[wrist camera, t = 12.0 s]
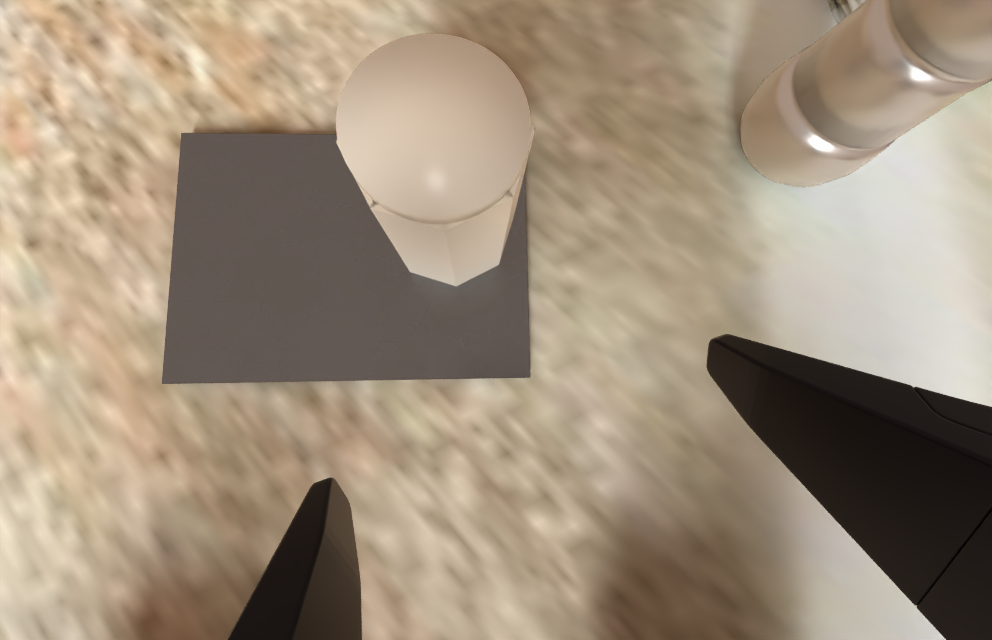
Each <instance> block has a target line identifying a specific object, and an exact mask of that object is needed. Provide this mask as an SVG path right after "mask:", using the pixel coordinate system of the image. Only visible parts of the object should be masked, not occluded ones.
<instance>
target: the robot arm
mask: <svg viewBox="0 0 992 640" xmlns="http://www.w3.org/2000/svg"><path fill="white" fill-rule="evenodd" d="M707 370H708V372H709V374H710V376H711V377H712V378H713V380H714V381H715V382H716V384H717V385H718V386H719V388H720V389H721V390H722V392H723V393H724V394H725V396H726V397H727V398H728V400H729V401H730V402H731V404H732V405H733V406H734V408H735V409H736V410H737V412H738V413H739V414H740V415H741V417H742V418H743V419H744V421H745V422H746V423H747V424H748V425H749V427H750V428H751V429H752V430H753V431H754V432H755V433H756V435H757V436H758V437H759V438H760V439H761V440H762V441H763V442H764V443H765V444H766V445H767V446H768V447H769V449H770V450H771V451H772V452H773V453H774V454H775V455H776V456H777V457H778V458H779V459H780V460H781V461H782V463H783V464H784V465H785V466H786V467H787V468H788V469H789V470H790V471H791V472H792V473H793V474H794V476H795V477H796V478H797V479H798V480H799V481H800V482H801V483H802V484H803V485H804V486H805V487H806V488H807V490H808V491H809V492H810V493H811V494H812V495H813V496H814V497H815V498H816V499H817V500H818V501H819V502H820V504H821V505H822V506H823V507H824V508H825V509H826V510H827V511H828V512H829V513H830V514H831V515H832V516H833V518H834V519H835V520H836V521H837V522H838V523H839V524H840V525H841V526H842V527H843V528H844V529H845V531H846V532H847V533H848V534H849V535H850V536H851V537H852V538H853V539H854V540H855V541H856V542H857V543H858V545H859V546H860V547H861V548H862V549H863V550H864V551H865V552H866V553H867V554H868V555H869V556H870V557H871V559H872V560H873V561H874V562H875V563H876V564H877V565H878V566H879V567H880V568H881V569H882V570H883V572H884V573H885V574H886V575H887V576H888V577H889V578H890V579H891V580H892V581H893V582H894V583H895V584H896V586H897V587H898V588H899V589H900V590H901V591H902V592H903V593H904V594H905V595H906V596H907V597H908V598H909V600H910V601H911V602H912V603H913V604H914V605H917V609H918V610H919V611H920V612H921V613H922V614H923V615H924V616H925V617H926V618H927V619H928V620H929V622H930V623H931V624H932V625H933V626H934V627H935V628H936V629H937V630H938V631H939V632H940V633H941V634H942V636H943V637H944V638H945V639H946V640H992V407H990V406H986V405H981V404H977V403H973V402H970V401H966V400H962V399H958V398H955V397H951V396H947V395H943V394H940V393H936V392H933V391H929V390H925V389H922V388H918V387H914V388H913V387H912V386H911V385H907V384H904V383H900V382H897V381H893V380H890V379H886V378H883V377H879V376H875V375H872V374H868V373H865V372H861V371H858V370H854V369H851V368H847V367H844V366H840V365H836V364H833V363H829V362H826V361H822V360H819V359H815V358H812V357H808V356H804V355H801V354H797V353H794V352H790V351H787V350H783V349H780V348H776V347H772V346H769V345H765V344H762V343H758V342H755V341H751V340H748V339H744V338H741V337H737V336H733V335H729V334H725V335H721V336H719V337H716V338H713V339H712V340H711V341H710V342H709V347H708V356H707ZM227 640H362V620H361V583H360V573H359V565H358V557H357V550H356V542H355V535H354V527H353V520H352V513H351V507H350V503H349V501H348V499H347V497H346V496H345V494H344V492H343V491H342V489H341V488H340V486H339V485H338V483H337V482H336V480H335V479H334V478H327V479H324V480H322V481H319V482H316V483H314V484H313V485H312V486H311V487H310V489H309V491H308V493H307V495H306V496H305V498H304V500H303V502H302V504H301V506H300V507H299V509H298V511H297V513H296V515H295V517H294V518H293V520H292V522H291V524H290V526H289V527H288V529H287V531H286V533H285V535H284V537H283V538H282V540H281V542H280V544H279V546H278V548H277V549H276V551H275V553H274V555H273V557H272V559H271V560H270V562H269V564H268V566H267V568H266V570H265V571H264V573H263V575H262V577H261V579H260V581H259V582H258V584H257V586H256V588H255V590H254V592H253V593H252V595H251V597H250V599H249V601H248V603H247V604H246V606H245V608H244V610H243V612H242V614H241V615H240V617H239V619H238V621H237V623H236V625H235V626H234V628H233V630H232V632H231V634H230V635H229V637H228V639H227Z"/></svg>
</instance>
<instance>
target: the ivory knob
mask: <svg viewBox="0 0 992 640" xmlns="http://www.w3.org/2000/svg"><path fill="white" fill-rule="evenodd" d="M336 132H337V141H336V143H337V145H338V147H339V149H340V151H341V153H342V156H343V158H344V160H345V162H346V164H347V166H348V167H349V169H350V171H351V172H352V174H353V176H354V178H355V180H356V182H357V184H358V186H359V187H360V189H361V191H362V193H363V195H364V197H365V199H366V201H367V203H368V205H369V207H370V209H371V210H372V212H373V214H374V215H375V217H376V218H377V220H378V222H379V223H380V225H381V226H382V228H383V230H384V231H385V233H386V234H387V236H388V238H389V239H390V241H391V242H392V244H393V246H394V247H395V249H396V250H397V252H398V254H399V255H400V257H401V258H402V260H403V262H404V263H405V265H406V266H407V268H408V270H409V271H410V272H411V273H415V274H418V275H421V276H424V277H427V278H431V279H434V280H437V281H440V282H444V283H447V284H450V285H453V286H458V285H460V284H462V283H464V282H466V281H468V280H470V279H472V278H474V277H476V276H478V275H480V274H482V273H484V272H486V271H488V270H490V269H492V268H494V267H496V266H498V265H499V263H500V259H501V256H502V253H503V250H504V247H505V243H506V240H507V237H508V234H509V231H510V228H511V224H512V221H513V217H514V213H515V209H516V205H517V201H518V197H519V193H520V189H521V185H522V181H523V177H524V173H525V168H526V164H527V160H528V156H529V152H530V148H531V144H532V140H533V136H534V132H535V129H534V127H533V125H532V123H531V115H530V110H529V104H528V101H527V98H526V95H525V92H524V90H523V88H522V86H521V84H520V82H519V80H518V79H517V77H516V76H515V74H514V73H513V72H512V70H511V69H510V68H509V67H508V66H507V65H506V64H505V63H504V62H503V61H502V60H501V59H500V58H499V57H498V56H497V55H495V54H494V53H492V52H491V51H490V50H488V49H487V48H485V47H483V46H481V45H479V44H477V43H475V42H473V41H470V40H468V39H465V38H462V37H458V36H454V35H448V34H440V33H426V34H417V35H411V36H407V37H403V38H400V39H397V40H395V41H392V42H390V43H388V44H386V45H384V46H382V47H380V48H379V49H377V50H376V51H374V52H373V53H371V54H370V55H369V56H368V57H366V58H365V59H364V60H363V61H362V62H361V63H360V64H359V65H358V66H357V68H356V69H355V70H354V71H353V73H352V74H351V76H350V77H349V79H348V80H347V82H346V84H345V86H344V88H343V90H342V93H341V96H340V99H339V102H338V107H337V113H336Z"/></svg>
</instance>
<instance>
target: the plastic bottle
mask: <svg viewBox="0 0 992 640" xmlns="http://www.w3.org/2000/svg"><path fill="white" fill-rule="evenodd" d="M991 80H992V0H866V1H865V2H864V3H862V4H861V5H860V6H859V7H858V8H856V9H855V10H854V11H853V12H852V13H850V14H849V15H848V16H847V17H846V18H844V19H843V20H842V21H841V22H840V23H838V24H837V25H836V26H835V27H833V28H832V29H831V30H830V31H829V32H827V33H826V34H825V35H824V36H823V37H821V38H820V39H819V40H818V41H817V42H815V43H814V44H813V45H811V46H809V47H807V48H805V49H804V50H802V51H801V52H799V53H798V54H796V55H795V56H793V57H792V58H790V59H789V60H788V61H786V62H785V63H784V64H783V65H781V66H780V67H779V68H777V69H776V70H775V71H773V72H772V73H771V74H770V75H769V76H768V77H766V78H765V79H764V81H763V82H762V83H761V85H760V86H759V87H758V89H757V90H756V92H755V93H754V94H753V96H752V97H751V99H750V100H749V102H748V103H747V105H746V107H745V109H744V111H743V113H742V118H741V124H740V133H741V144H742V148H743V151H744V153H745V155H746V158H747V159H748V160H749V162H750V163H751V165H752V166H753V167H754V168H755V169H756V170H757V171H758V172H759V173H761V174H762V175H763V176H765V177H766V178H768V179H770V180H772V181H774V182H777V183H781V184H785V185H789V186H796V187H811V186H816V185H820V184H823V183H826V182H829V181H832V180H835V179H838V178H841V177H844V176H847V175H849V174H851V173H852V172H854V171H856V170H857V169H859V168H860V167H862V166H863V165H865V164H866V163H867V162H869V161H870V160H872V159H873V158H875V157H876V156H877V155H879V154H880V153H881V152H882V151H883V150H885V149H886V148H887V147H888V146H889V145H890V144H891V143H893V142H894V141H895V140H896V139H897V138H898V137H900V136H902V135H903V134H905V133H906V132H908V131H909V130H911V129H912V128H914V127H915V126H917V125H918V124H920V123H921V122H923V121H925V120H926V119H928V118H929V117H931V116H932V115H934V114H935V113H937V112H938V111H940V110H941V109H943V108H944V107H946V106H948V105H949V104H951V103H952V102H954V101H955V100H957V99H958V98H960V97H961V96H963V95H964V94H966V93H968V92H970V91H972V90H974V89H976V88H978V87H980V86H982V85H984V84H986V83H988V82H990V81H991Z"/></svg>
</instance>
